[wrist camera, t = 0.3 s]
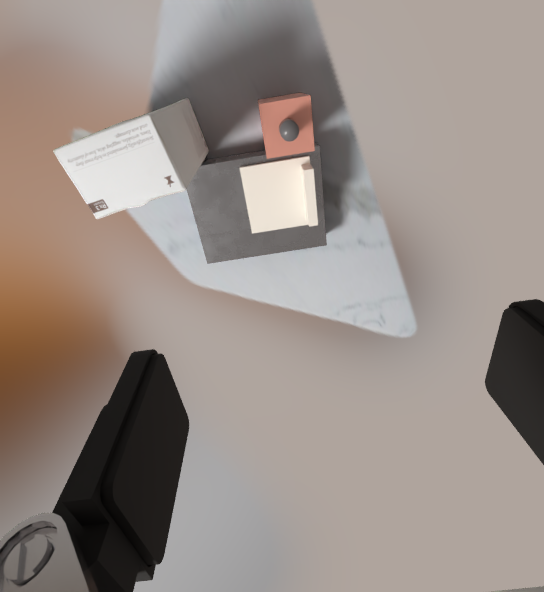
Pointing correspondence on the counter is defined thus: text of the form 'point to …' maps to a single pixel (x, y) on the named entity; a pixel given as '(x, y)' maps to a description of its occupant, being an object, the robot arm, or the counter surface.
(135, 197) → the skincare box
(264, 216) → the cream stepped block
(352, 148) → the counter surface
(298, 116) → the plug
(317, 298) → the counter surface
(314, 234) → the socket
